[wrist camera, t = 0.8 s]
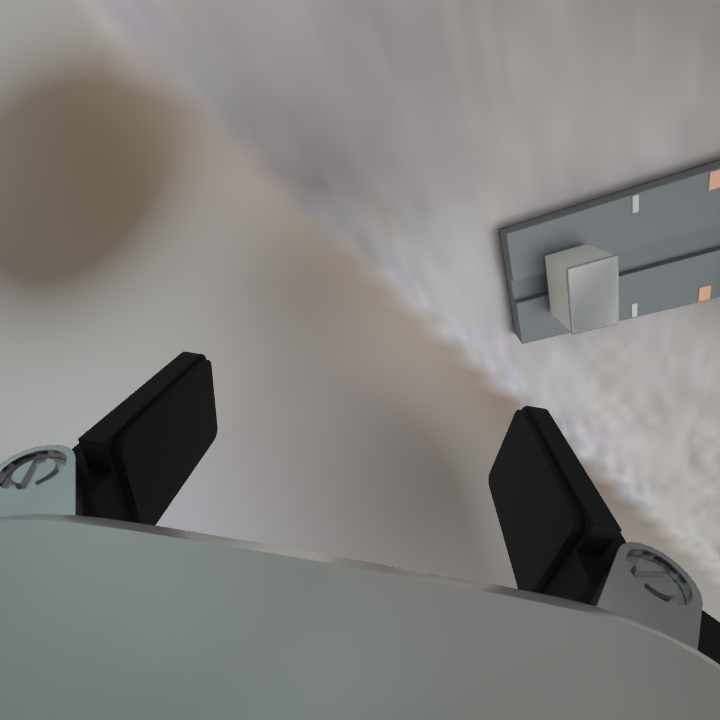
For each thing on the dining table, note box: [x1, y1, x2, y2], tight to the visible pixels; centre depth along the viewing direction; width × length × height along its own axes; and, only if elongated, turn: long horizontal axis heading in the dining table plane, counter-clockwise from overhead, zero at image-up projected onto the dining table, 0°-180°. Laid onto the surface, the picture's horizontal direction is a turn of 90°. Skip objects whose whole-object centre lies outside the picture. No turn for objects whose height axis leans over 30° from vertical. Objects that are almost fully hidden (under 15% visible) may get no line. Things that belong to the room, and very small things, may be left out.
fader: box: [545, 244, 619, 335], centre depth 27 cm, size 3×5×5 cm, turn 19°
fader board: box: [499, 160, 720, 344], centre depth 28 cm, size 18×10×4 cm, turn 109°
